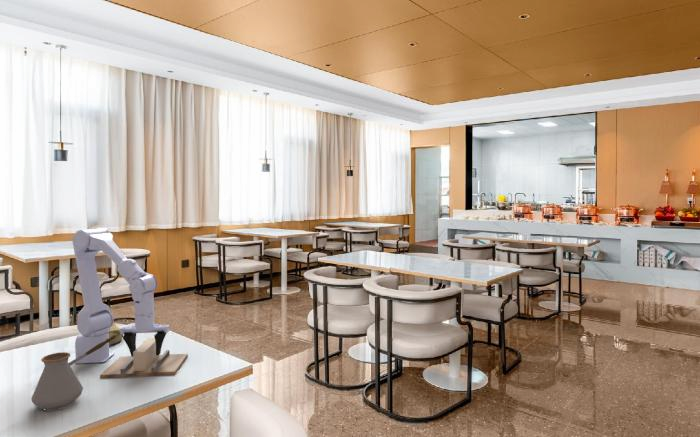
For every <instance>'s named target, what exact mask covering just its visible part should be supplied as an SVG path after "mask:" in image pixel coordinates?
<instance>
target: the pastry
mask: <svg viewBox="0 0 700 437" xmlns="http://www.w3.org/2000/svg"><path fill="white" fill-rule="evenodd" d="M120 328H121V327H118V326H117V325H116V324H115V323H113V325H112V326H111V327H110V331H108V332H109V338H111V337H112V336H114V335H116V336H117V338H118V339H119V341H117V340H118V339H117V338H114V339H113V340H111V341H110V342H109V346H112V345H114V344H118V343H120V342H122V340H123V336H124V334H120ZM116 339H117V340H116Z"/></svg>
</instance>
